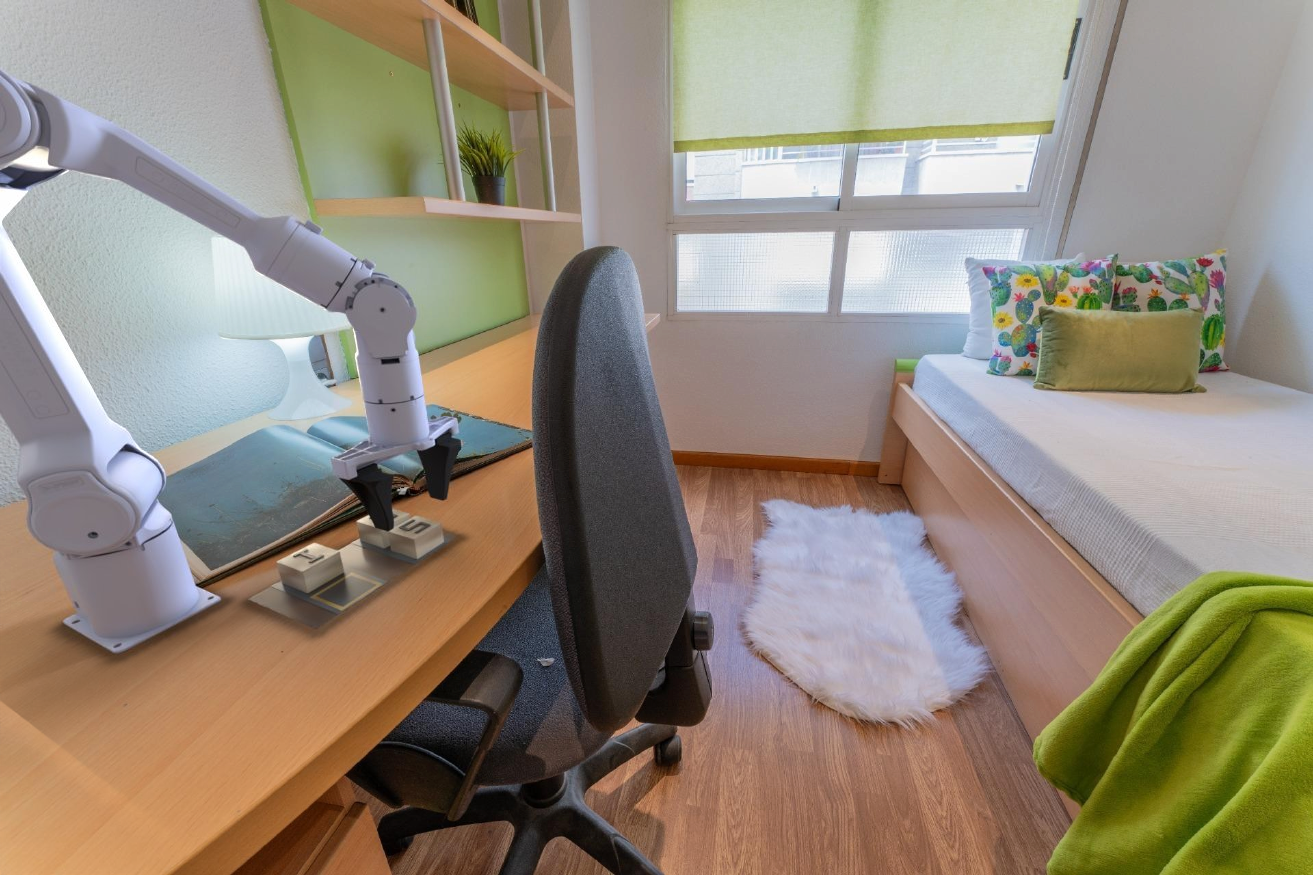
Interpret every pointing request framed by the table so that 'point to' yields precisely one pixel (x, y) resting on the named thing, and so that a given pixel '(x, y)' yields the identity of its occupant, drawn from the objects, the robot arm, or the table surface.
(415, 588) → the table surface
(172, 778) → the table surface
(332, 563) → the tile
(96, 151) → the robot arm
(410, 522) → the tile
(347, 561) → the letter board
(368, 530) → the tile
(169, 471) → the table surface
